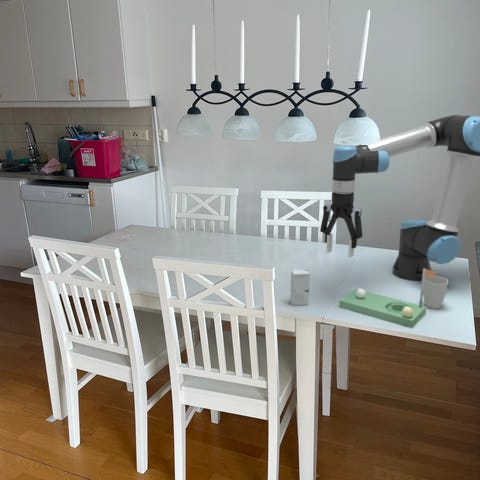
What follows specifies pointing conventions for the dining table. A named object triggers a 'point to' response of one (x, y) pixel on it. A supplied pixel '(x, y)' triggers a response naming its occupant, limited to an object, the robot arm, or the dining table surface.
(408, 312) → the yellow ball
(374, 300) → the green
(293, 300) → the skincare box
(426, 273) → the flag
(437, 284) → the cup
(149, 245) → the dining table surface
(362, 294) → the ball
